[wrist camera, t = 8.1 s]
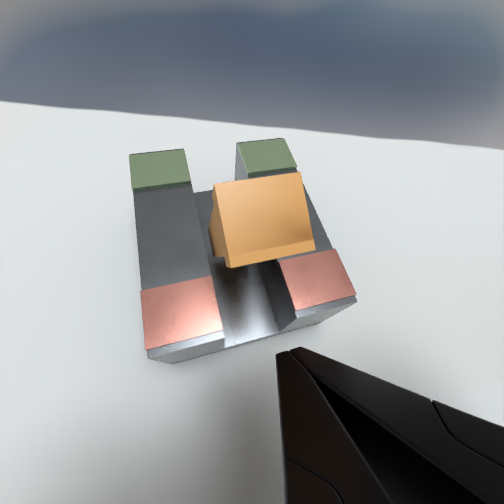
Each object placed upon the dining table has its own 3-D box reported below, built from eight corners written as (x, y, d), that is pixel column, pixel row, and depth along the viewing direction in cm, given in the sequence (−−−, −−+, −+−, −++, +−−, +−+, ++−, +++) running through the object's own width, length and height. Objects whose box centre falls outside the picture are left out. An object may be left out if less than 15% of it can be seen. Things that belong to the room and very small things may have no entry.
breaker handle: (254, 254, 15) (315, 249, 7) (214, 262, 14) (231, 268, 6) (247, 217, 15) (300, 171, 7) (206, 224, 14) (214, 183, 6)
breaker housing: (324, 321, 16) (365, 298, 11) (166, 365, 14) (137, 360, 9) (272, 189, 20) (287, 134, 16) (148, 208, 18) (123, 151, 14)
